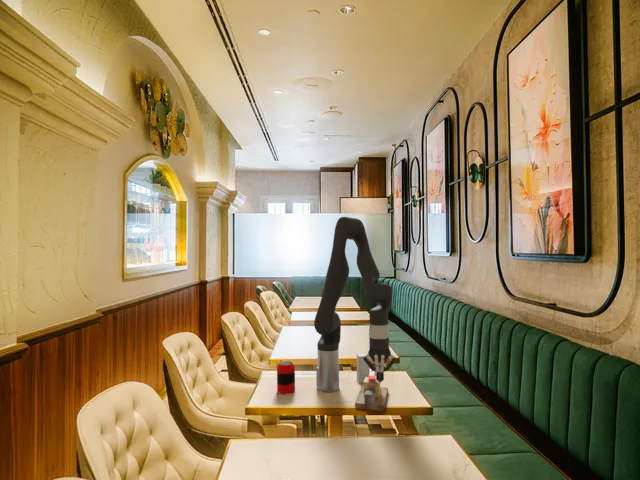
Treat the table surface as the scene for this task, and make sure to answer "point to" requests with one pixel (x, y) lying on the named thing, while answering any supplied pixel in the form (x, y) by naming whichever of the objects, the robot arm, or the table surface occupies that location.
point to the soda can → (285, 377)
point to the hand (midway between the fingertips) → (380, 381)
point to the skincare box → (362, 368)
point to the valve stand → (371, 396)
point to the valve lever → (372, 377)
